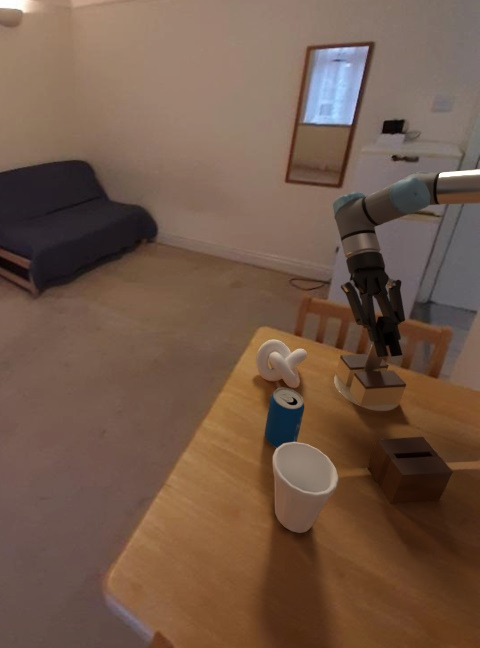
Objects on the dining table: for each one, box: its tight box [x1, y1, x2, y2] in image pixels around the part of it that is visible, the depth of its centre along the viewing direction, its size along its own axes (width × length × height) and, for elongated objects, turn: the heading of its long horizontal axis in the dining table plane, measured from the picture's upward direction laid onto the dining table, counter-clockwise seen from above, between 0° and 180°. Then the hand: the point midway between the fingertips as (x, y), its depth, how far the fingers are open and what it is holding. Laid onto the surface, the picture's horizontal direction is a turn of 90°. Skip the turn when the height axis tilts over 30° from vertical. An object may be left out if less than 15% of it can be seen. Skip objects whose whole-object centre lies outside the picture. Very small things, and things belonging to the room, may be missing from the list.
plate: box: [333, 374, 400, 412], centre depth 98 cm, size 14×14×1 cm
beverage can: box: [264, 387, 305, 448], centre depth 84 cm, size 6×6×12 cm
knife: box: [363, 315, 395, 372], centre depth 93 cm, size 3×2×17 cm
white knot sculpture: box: [255, 339, 308, 389], centre depth 102 cm, size 11×12×9 cm
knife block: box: [366, 436, 454, 505], centre depth 75 cm, size 9×7×8 cm
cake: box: [335, 353, 407, 407], centre depth 96 cm, size 9×11×6 cm
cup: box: [272, 441, 339, 534], centre depth 69 cm, size 10×10×13 cm
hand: (389, 356), depth 89 cm, fingers closed on knife, 2 cm apart
